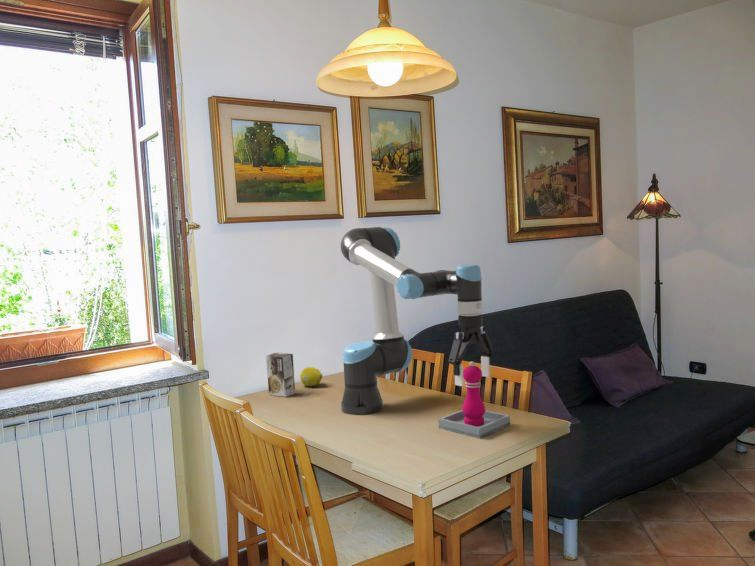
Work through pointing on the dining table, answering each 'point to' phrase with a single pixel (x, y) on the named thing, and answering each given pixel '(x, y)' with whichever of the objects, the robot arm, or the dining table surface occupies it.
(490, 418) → the tray
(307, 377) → the lemon
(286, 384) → the coffee box
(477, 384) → the pepper mill
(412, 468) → the dining table surface
